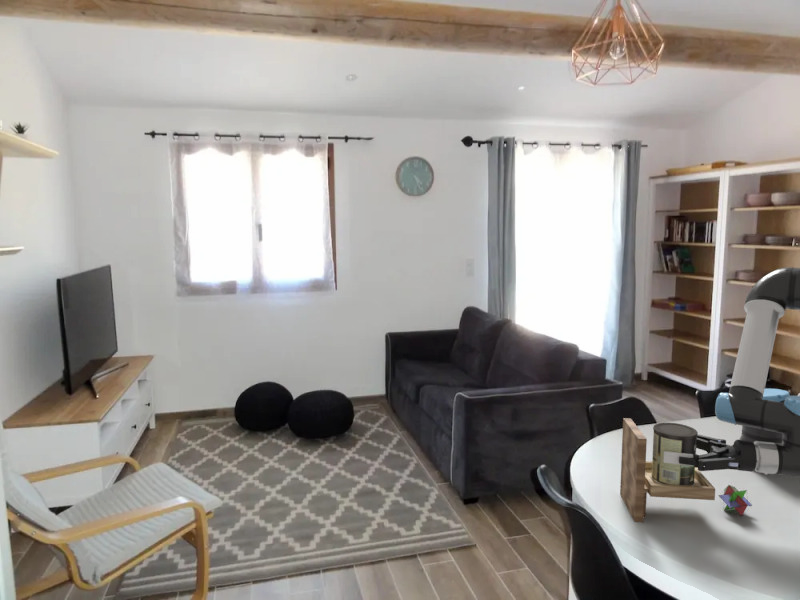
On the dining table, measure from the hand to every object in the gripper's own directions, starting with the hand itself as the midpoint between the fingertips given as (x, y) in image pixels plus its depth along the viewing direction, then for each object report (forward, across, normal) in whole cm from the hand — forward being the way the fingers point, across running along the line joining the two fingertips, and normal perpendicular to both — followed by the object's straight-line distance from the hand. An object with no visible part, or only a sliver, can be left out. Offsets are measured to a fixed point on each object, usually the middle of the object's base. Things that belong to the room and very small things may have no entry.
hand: (660, 446), depth 143 cm
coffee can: (-3, 0, -9) cm, 10 cm away
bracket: (-2, 0, -17) cm, 17 cm away
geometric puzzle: (-19, +4, -17) cm, 26 cm away
